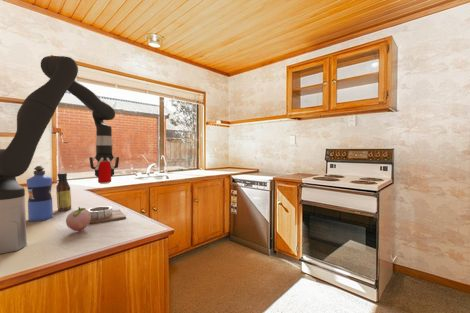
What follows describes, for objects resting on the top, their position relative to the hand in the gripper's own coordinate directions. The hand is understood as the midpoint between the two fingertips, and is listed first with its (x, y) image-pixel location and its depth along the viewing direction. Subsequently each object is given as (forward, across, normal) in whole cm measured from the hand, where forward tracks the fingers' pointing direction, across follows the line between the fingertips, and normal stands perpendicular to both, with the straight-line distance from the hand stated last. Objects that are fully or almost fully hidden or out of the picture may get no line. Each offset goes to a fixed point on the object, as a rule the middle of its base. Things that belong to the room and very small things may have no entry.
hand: (104, 176), depth 126 cm
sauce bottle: (+19, -18, +16) cm, 30 cm away
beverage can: (+4, 0, 0) cm, 4 cm away
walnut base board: (+19, -4, -13) cm, 23 cm away
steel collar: (+19, -4, -13) cm, 23 cm away
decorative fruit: (+19, -13, -29) cm, 37 cm away
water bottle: (+19, -27, +3) cm, 33 cm away
